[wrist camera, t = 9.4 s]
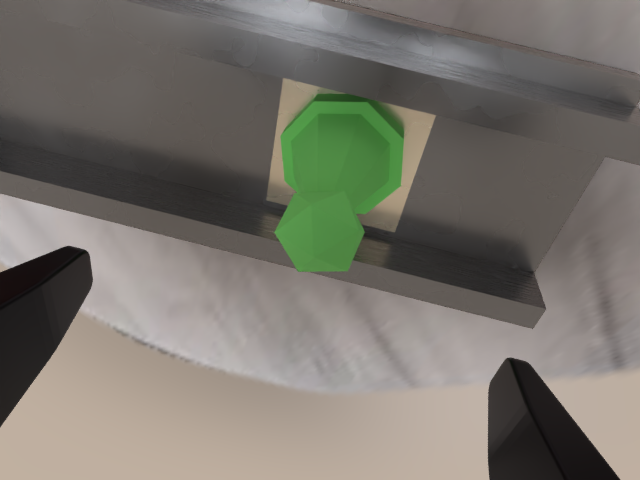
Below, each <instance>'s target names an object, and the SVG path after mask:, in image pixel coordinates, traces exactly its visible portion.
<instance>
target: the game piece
mask: <svg viewBox="0 0 640 480" xmlns="http://www.w3.org/2000/svg"><path fill="white" fill-rule="evenodd" d="M280 138H281V148H282V159H283V170H284V180H285V182H286V183H287V184H288V185H289V186H290V187H292V188H293V189H294V190H295V191H296V192H297V193H294V195H293V197H292V199H291V201H290V203H289V205H288V207H287V209H286V211H285V213H284V214H283V216H282V218H281V220H280V222H279V224H278V226H277V228H276V230H275V232H274V233H275V234H276V236H277V238H278V239H279V241H280V243H281V244H282V246H283V248H284V249H285V251H286V252H287V254H288V256H289V257H290V259H291V261H292V262H293V264H294V266H295V267H296V269H297V271H298V272H317V271H348V269H349V267H350V265H351V263H352V260H353V258H354V256H355V253H356V251H357V249H358V246H359V244H360V242H361V239H362V237H363V235H364V233H365V231H364V229H363V227H362V225H361V223H360V221H359V219H358V217H357V215H356V214H366V213H367V212H369V211H370V210H371V209H373V208H374V207H375V206H376V205H378V204H379V203H380V202H381V201H383V200H384V199H385V198H386V197H388V196H389V195H390V194H392V193H393V192H394V191H395V190H397V189H398V188H399V187H400V186H401V177H402V161H403V146H404V129H403V128H402V127H401V126H400V125H399V124H398V123H397V122H396V121H395V120H394V119H393V118H392V117H391V116H390V115H389V114H388V113H387V112H386V111H385V110H384V109H383V108H382V107H381V106H380V105H379V104H378V103H377V102H376V101H375V100H371V99H367V98H363V97H359V96H355V95H351V94H317V95H316V96H315V97H314V98H313V99H312V100H311V101H310V102H309V103H308V105H307V106H306V107H305V108H304V109H303V110H302V111H301V112H300V113H299V114H298V115H297V116H296V117H295V118H294V119H293V120H292V121H291V122H290V123H289V125H288V126H287V127H286V128H285V129H284V131H283V133H282V134H281V136H280Z"/></svg>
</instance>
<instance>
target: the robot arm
mask: <svg viewBox="0 0 640 480" xmlns="http://www.w3.org/2000/svg"><path fill="white" fill-rule="evenodd" d="M92 282H93V277H92V269H91V262H90V256H89V253H88V252H87V251H86V250H84V249H80V248H76V247H72V246H66V247H63V248H60V249H58V250H55V251H53V252H50V253H48V254H45V255H43V256H40V257H38V258H35V259H33V260H30V261H28V262H25V263H23V264H20V265H18V266H15V267H13V268H10V269H8V270H5V271H2V272H0V427H1V425H2V424H3V422H4V421H5V420H6V418H7V417H8V416H9V414H10V413H11V412H12V410H13V409H14V407H15V406H16V405H17V403H18V402H19V400H20V399H21V398H22V396H23V395H24V393H25V392H26V391H27V389H28V388H29V387H30V385H31V384H32V383H33V381H34V380H35V378H36V377H37V376H38V374H39V373H40V371H41V370H42V369H43V367H44V366H45V365H46V363H47V362H48V360H49V359H50V358H51V356H52V355H53V353H54V352H55V350H56V349H57V347H58V345H59V344H60V342H61V340H62V338H63V337H64V335H65V333H66V331H67V330H68V328H69V326H70V324H71V323H72V321H73V319H74V318H75V316H76V314H77V312H78V311H79V309H80V307H81V305H82V303H83V302H84V300H85V298H86V296H87V295H88V293H89V291H90V289H91V286H92ZM488 394H489V395H488V466H489V478H490V480H620V479H619V477H618V476H617V475H616V474H615V472H614V471H613V470H612V468H611V467H610V466H609V464H608V463H607V462H606V461H605V459H604V458H603V457H602V456H601V454H600V453H599V452H598V450H597V449H596V448H595V447H594V445H593V444H592V443H591V441H590V440H589V439H588V438H587V436H586V435H585V434H584V433H583V431H582V430H581V429H580V427H579V426H578V425H577V424H576V422H575V421H574V420H573V419H572V417H571V416H570V415H569V413H568V412H567V411H566V410H565V408H564V407H563V406H562V405H561V403H560V402H559V401H558V400H557V398H556V397H555V396H554V394H553V393H552V392H551V391H550V389H549V388H548V387H547V385H546V384H545V383H544V381H543V380H542V379H541V378H540V376H539V375H538V374H537V373H536V371H535V370H534V369H533V367H532V366H531V365H530V364H529V363H528V362H526V361H522V360H518V359H514V358H507V359H505V361H504V362H503V363H502V365H501V366H500V368H499V369H498V371H497V372H496V374H495V375H494V377H493V379H492V380H491V382H490V385H489V392H488Z"/></svg>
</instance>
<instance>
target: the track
mask: <svg viewBox="0 0 640 480" xmlns="http://www.w3.org/2000/svg"><path fill="white" fill-rule="evenodd" d="M317 94H351V95H355V96H359V97H363V98H367V99H371V100H375V101H376V102H377V103H378V104H379V105H380V106H381V107H382V108H383V109H384V110H385V111H386V112H387V113H388V114H389V115H390V116H391V117H392V118H393V119H394V120H395V121H396V122H397V123H398V124H399V125H400V126H401V127H402V128H403V129H404V146H403V161H402V177H401V186H400V187H399V188H398V189H397V190H395V191H394V192H393V193H392V194H390V195H389V196H388V197H386V198H385V199H384V200H383V201H381V202H380V203H379V204H378V205H376V206H375V207H374V208H373V209H371V210H370V211H369V212H367V213H366V214H356V215H357V217H358V219H359V221H360V223H361V225H362V227H363V229H364V231H365V233H364V235H363V237H362V239H361V242H360V244H359V246H358V249H357V251H356V253H355V256H354V258H353V260H352V263H351V265H350V267H349V269H348V271H317V272H311V273H315V274H319V275H323V276H327V277H331V278H335V279H339V280H343V281H347V282H351V283H355V284H359V285H363V286H367V287H371V288H375V289H378V290H382V291H386V292H390V293H394V294H398V295H402V296H406V297H410V298H414V299H418V300H422V301H426V302H430V303H434V304H438V305H441V306H445V307H449V308H453V309H457V310H461V311H465V312H469V313H473V314H477V315H481V316H485V317H489V318H493V319H497V320H501V321H504V322H508V323H512V324H516V325H520V326H524V327H528V328H532V329H533V328H534V326H535V325H536V323H537V322H538V320H539V319H540V317H541V316H542V315H543V313H544V312H545V310H546V307H545V304H544V301H543V298H542V295H541V292H540V289H539V286H538V283H537V280H536V277H535V274H534V272H535V270H536V269H537V267H538V265H539V264H540V262H541V261H542V259H543V257H544V256H545V254H546V252H547V251H548V249H549V247H550V246H551V244H552V243H553V241H554V239H555V238H556V236H557V234H558V233H559V231H560V229H561V228H562V226H563V225H564V223H565V221H566V220H567V218H568V216H569V215H570V213H571V211H572V210H573V208H574V207H575V205H576V203H577V202H578V200H579V198H580V197H581V195H582V193H583V192H584V190H585V189H586V187H587V185H588V184H589V182H590V180H591V179H592V177H593V175H594V174H595V172H596V171H597V169H598V167H599V166H600V164H601V162H602V161H603V159H604V157H608V158H612V159H616V160H620V161H625V162H629V163H633V164H637V165H640V110H639V109H638V108H637V107H636V105H637V104H638V102H639V100H640V75H638V74H637V73H633V72H629V71H625V70H621V69H617V68H612V67H608V66H604V65H600V64H596V63H592V62H587V61H583V60H579V59H575V58H571V57H567V56H562V55H558V54H554V53H550V52H546V51H542V50H537V49H533V48H529V47H525V46H521V45H517V44H513V43H508V42H504V41H500V40H496V39H492V38H488V37H483V36H479V35H475V34H471V33H467V32H463V31H458V30H454V29H450V28H446V27H442V26H438V25H433V24H429V23H425V22H421V21H417V20H413V19H408V18H404V17H400V16H396V15H392V14H388V13H383V12H379V11H375V10H371V9H367V8H363V7H359V6H354V5H350V4H346V3H342V2H338V1H334V0H0V194H4V195H8V196H12V197H16V198H20V199H24V200H28V201H32V202H36V203H40V204H44V205H48V206H52V207H56V208H59V209H63V210H67V211H71V212H75V213H79V214H83V215H87V216H91V217H95V218H99V219H103V220H107V221H111V222H115V223H119V224H122V225H126V226H130V227H134V228H138V229H142V230H146V231H150V232H154V233H158V234H162V235H166V236H170V237H174V238H178V239H182V240H185V241H189V242H193V243H197V244H201V245H205V246H209V247H213V248H217V249H221V250H225V251H229V252H233V253H237V254H241V255H245V256H248V257H252V258H256V259H260V260H264V261H268V262H272V263H276V264H280V265H284V266H288V267H292V268H296V267H295V266H294V264H293V262H292V261H291V259H290V257H289V256H288V254H287V252H286V251H285V249H284V248H283V246H282V244H281V243H280V241H279V239H278V238H277V236H276V234H275V233H274V232H275V230H276V228H277V226H278V224H279V222H280V220H281V218H282V216H283V214H284V213H285V211H286V209H287V207H288V205H289V203H290V201H291V199H292V197H293V195H294V193H297V192H296V191H295V190H294V189H293V188H292V187H290V186H289V185H288V184H287V183H286V182H285V180H284V170H283V159H282V148H281V138H280V136H281V134H282V133H283V131H284V129H285V128H286V127H287V126H288V125H289V123H290V122H291V121H292V120H293V119H294V118H295V117H296V116H297V115H298V114H299V113H300V112H301V111H302V110H303V109H304V108H305V107H306V106H307V105H308V103H309V102H310V101H311V100H312V99H313V98H314V97H315V96H316V95H317Z"/></svg>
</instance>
